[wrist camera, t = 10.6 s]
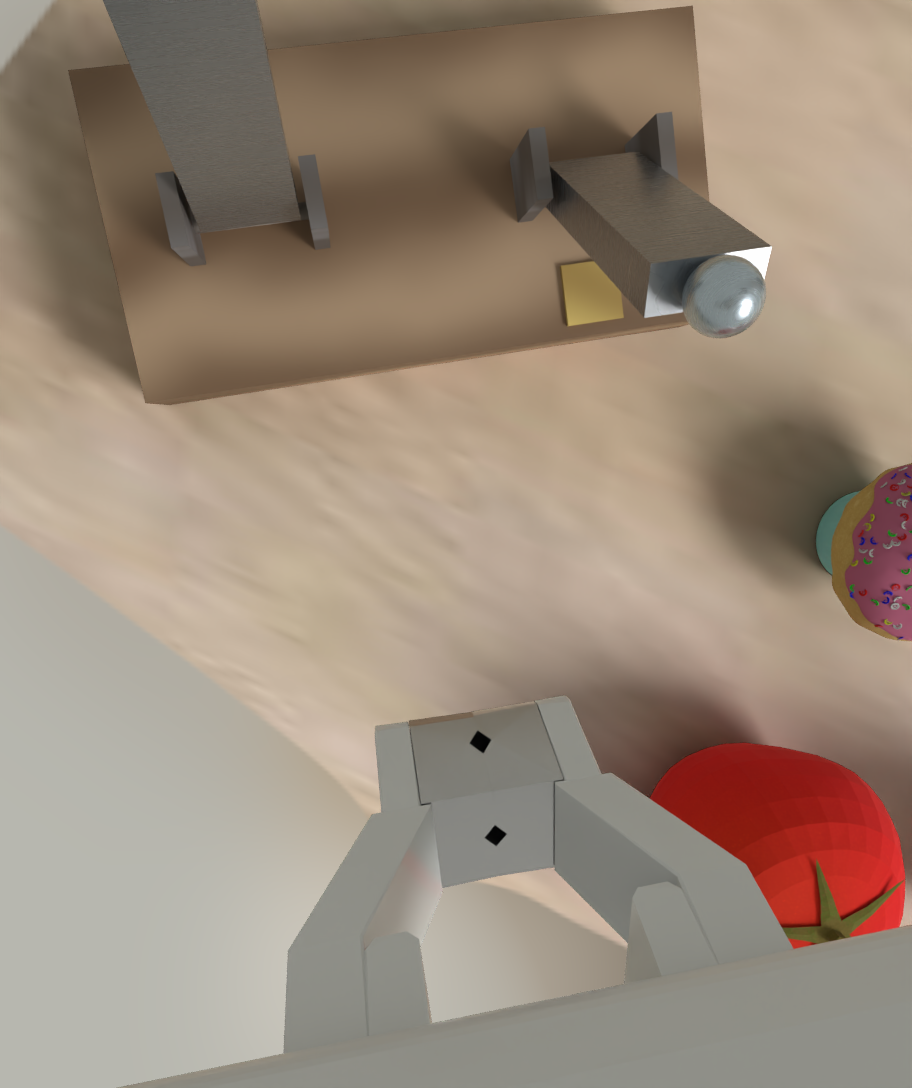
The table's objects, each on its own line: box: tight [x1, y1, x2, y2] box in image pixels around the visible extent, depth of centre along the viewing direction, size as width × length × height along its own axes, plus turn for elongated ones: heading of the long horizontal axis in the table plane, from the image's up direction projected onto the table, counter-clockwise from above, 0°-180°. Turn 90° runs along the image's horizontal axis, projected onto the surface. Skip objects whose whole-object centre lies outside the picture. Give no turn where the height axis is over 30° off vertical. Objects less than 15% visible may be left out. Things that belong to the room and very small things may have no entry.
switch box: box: [68, 6, 709, 405], centre depth 30 cm, size 12×24×7 cm, turn 99°
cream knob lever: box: [103, 0, 301, 233], centre depth 21 cm, size 2×4×12 cm, turn 98°
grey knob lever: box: [546, 151, 772, 338], centre depth 24 cm, size 2×4×12 cm
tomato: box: [649, 743, 905, 949], centre depth 35 cm, size 11×12×10 cm
